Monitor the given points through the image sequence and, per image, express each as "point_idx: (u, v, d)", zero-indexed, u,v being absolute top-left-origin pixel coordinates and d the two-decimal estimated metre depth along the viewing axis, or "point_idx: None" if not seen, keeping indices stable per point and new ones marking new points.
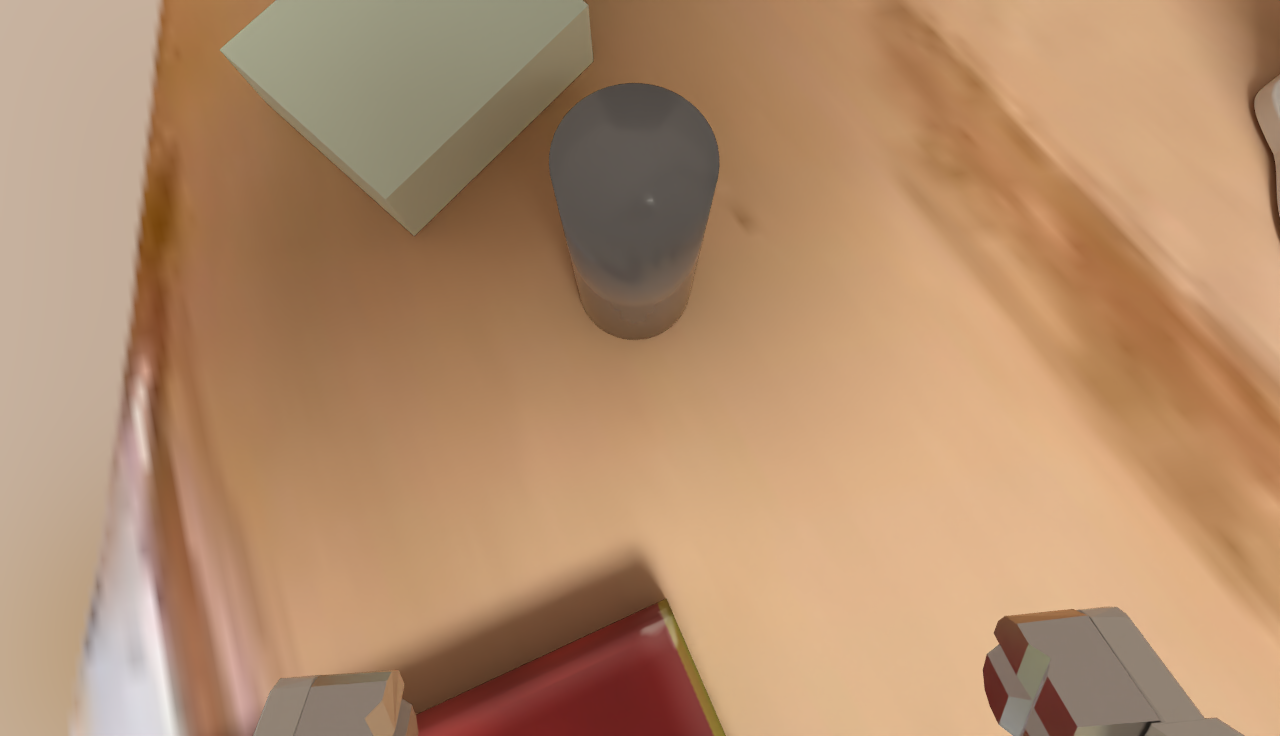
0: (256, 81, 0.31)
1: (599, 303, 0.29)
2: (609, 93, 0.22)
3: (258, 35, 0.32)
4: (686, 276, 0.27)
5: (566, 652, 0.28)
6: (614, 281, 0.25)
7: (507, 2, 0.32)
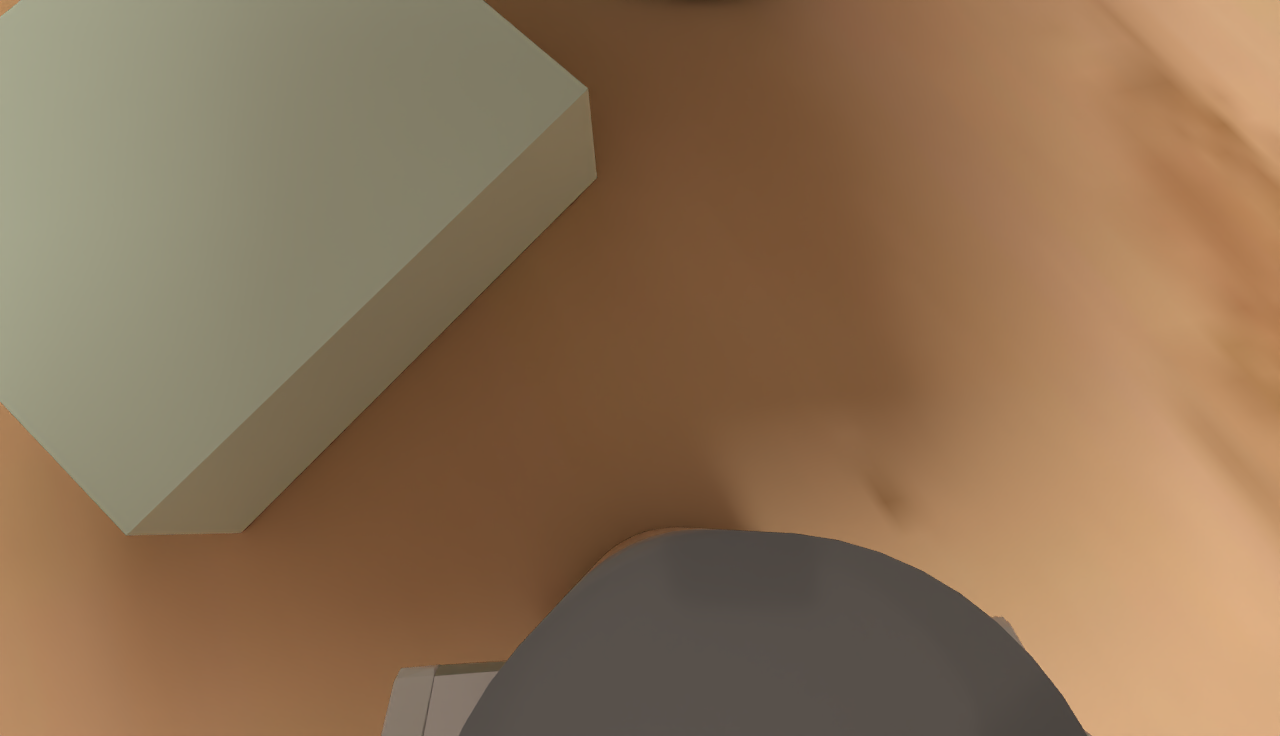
0: None
1: None
2: (669, 579, 0.06)
3: None
4: None
5: None
6: None
7: (418, 83, 0.15)
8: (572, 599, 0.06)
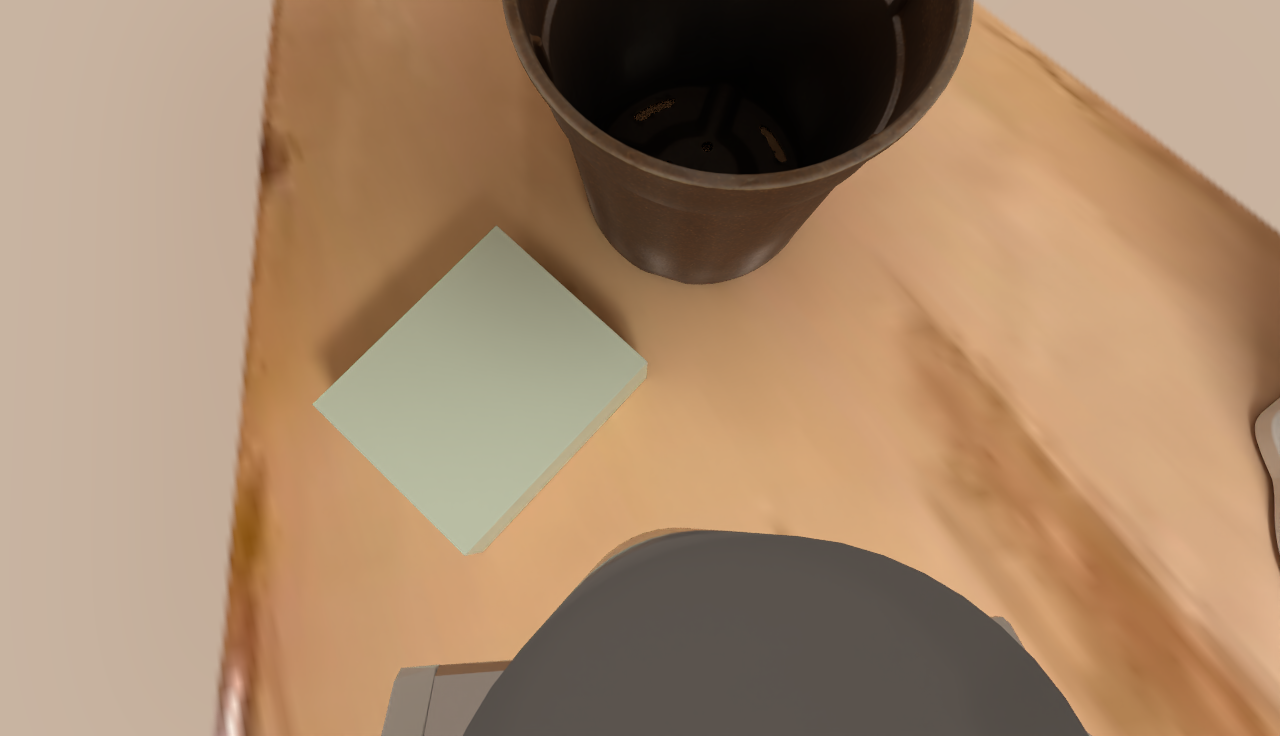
0: (346, 436, 0.34)
1: None
2: (672, 583, 0.06)
3: (347, 390, 0.35)
4: None
5: None
6: None
7: (574, 359, 0.35)
8: (574, 602, 0.06)
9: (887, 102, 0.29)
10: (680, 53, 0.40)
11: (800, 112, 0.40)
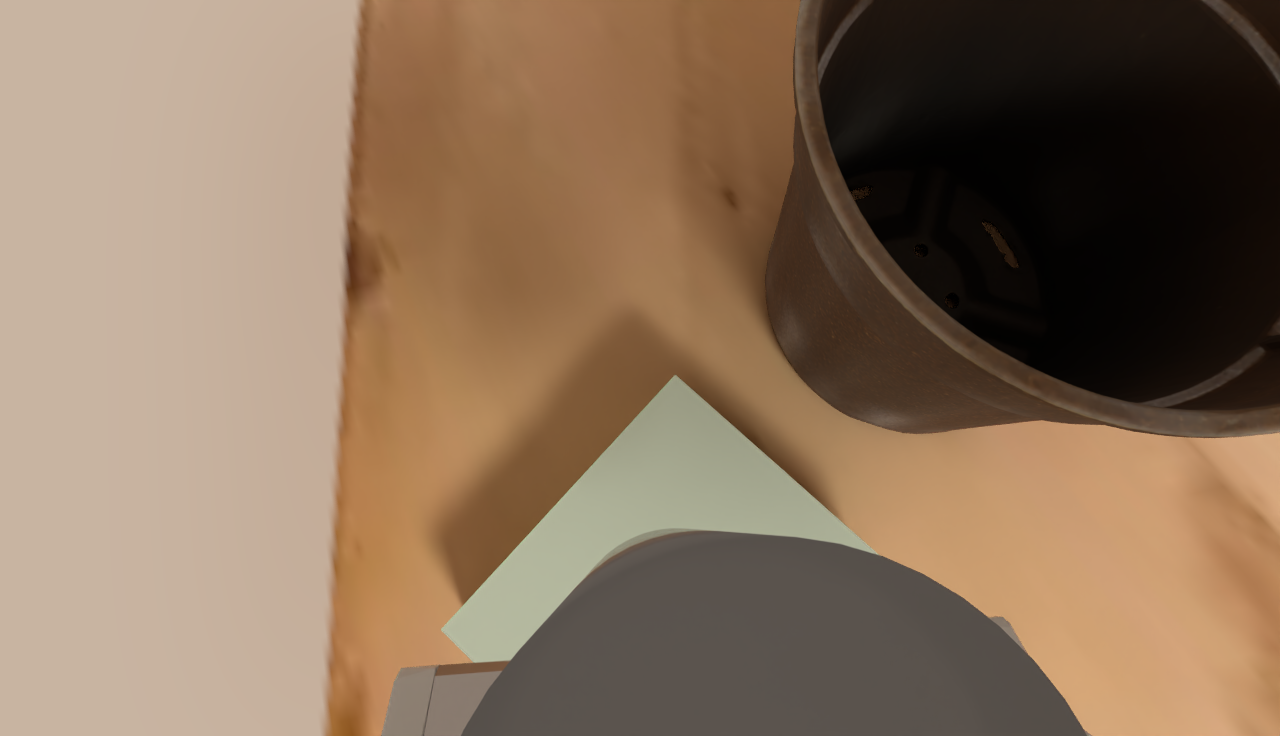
0: None
1: None
2: (669, 583, 0.06)
3: (487, 609, 0.26)
4: None
5: None
6: None
7: None
8: (572, 603, 0.05)
9: None
10: (893, 133, 0.31)
11: (1050, 209, 0.30)
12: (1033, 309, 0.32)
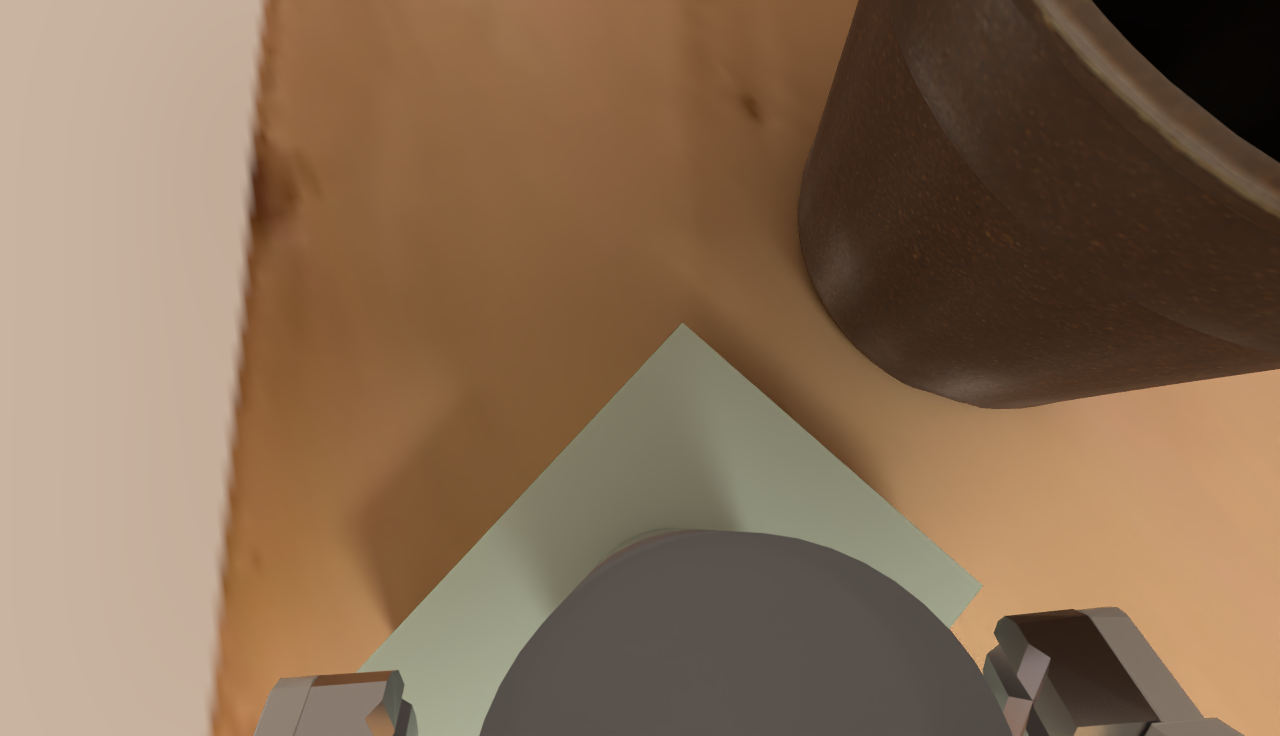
0: None
1: None
2: (663, 570, 0.07)
3: (417, 649, 0.18)
4: None
5: None
6: None
7: None
8: (585, 585, 0.07)
9: None
10: None
11: None
12: None
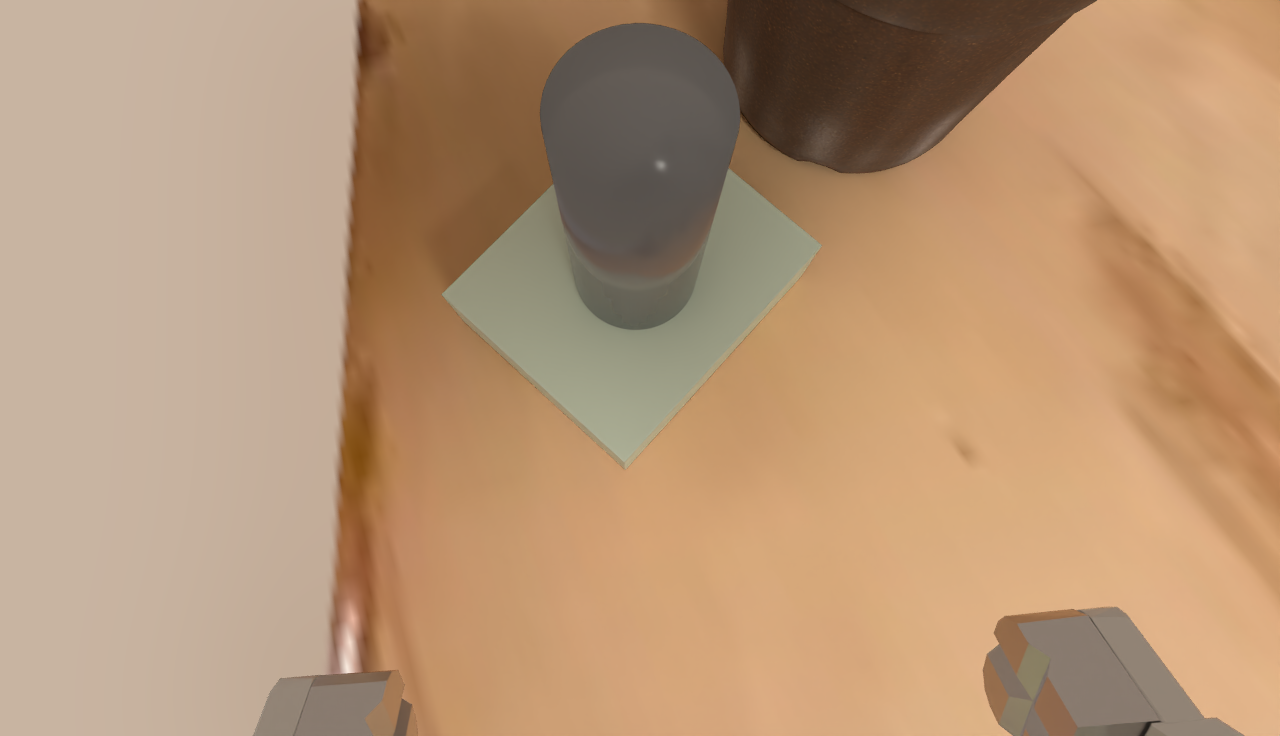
0: (482, 330, 0.30)
1: (596, 286, 0.26)
2: (611, 34, 0.19)
3: (481, 278, 0.30)
4: (696, 255, 0.24)
5: None
6: (614, 258, 0.22)
7: (738, 242, 0.31)
8: None
9: None
10: None
11: None
12: None
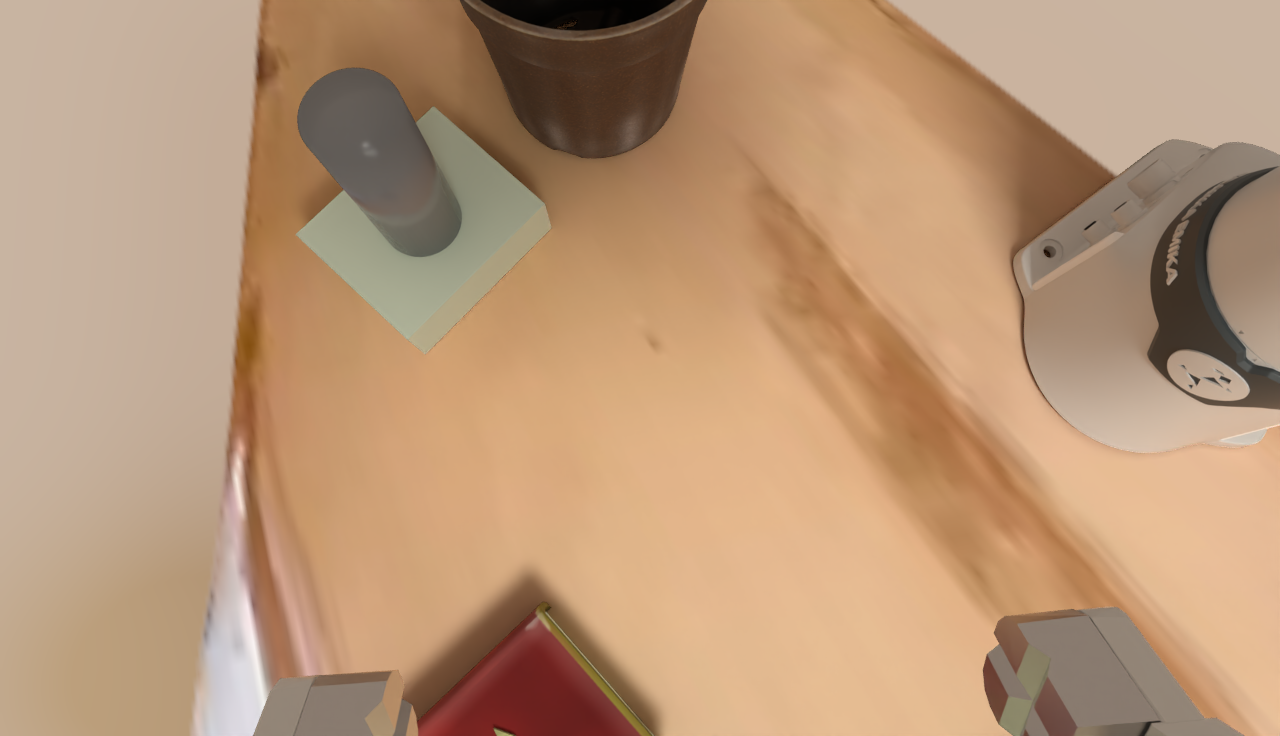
0: (320, 257, 0.46)
1: (373, 222, 0.42)
2: (339, 73, 0.36)
3: (321, 224, 0.47)
4: (423, 201, 0.41)
5: (485, 658, 0.43)
6: (361, 199, 0.39)
7: (490, 201, 0.47)
8: None
9: None
10: None
11: None
12: None
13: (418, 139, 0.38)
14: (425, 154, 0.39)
